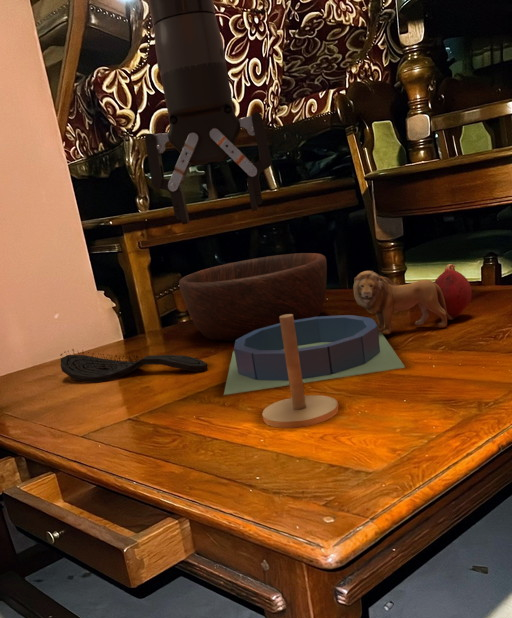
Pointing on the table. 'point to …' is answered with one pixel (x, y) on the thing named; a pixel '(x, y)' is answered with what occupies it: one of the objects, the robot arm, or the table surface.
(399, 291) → the lion figurine
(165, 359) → the hairbrush
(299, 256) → the wooden bowl
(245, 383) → the green mat
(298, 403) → the dowel stand
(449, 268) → the onion
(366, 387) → the table surface
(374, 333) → the blue ring
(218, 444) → the table surface
